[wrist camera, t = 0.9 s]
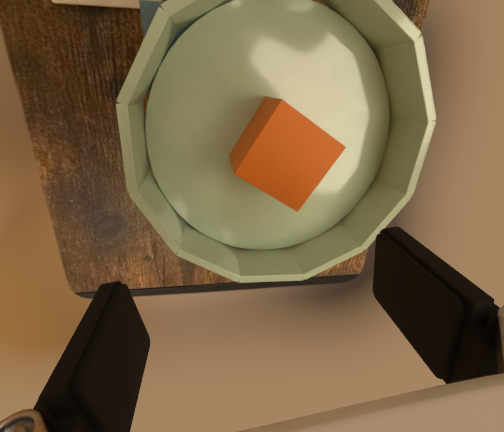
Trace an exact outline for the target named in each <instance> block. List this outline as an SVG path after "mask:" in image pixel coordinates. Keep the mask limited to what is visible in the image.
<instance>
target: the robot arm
mask: <svg viewBox="0 0 504 432" xmlns="http://www.w3.org/2000/svg"><path fill="white" fill-rule="evenodd" d="M373 293H374V296H375V298H376V299H377V301H378V302H379V303H380V305H381V306H382V307H383V309H384V310H385V311H386V312H387V314H388V315H389V316H390V318H391V319H392V320H393V322H394V323H395V324H396V326H397V327H398V328H399V329H400V331H401V332H402V333H403V335H404V336H405V337H406V339H407V340H408V341H409V342H410V344H411V345H412V346H413V348H414V349H415V350H416V351H417V353H418V354H419V355H420V357H421V358H422V359H423V361H424V362H425V363H426V365H427V366H428V367H429V368H430V370H431V371H432V372H433V374H434V375H435V376H436V377H437V378H439V379H443V380H444V382H445V383H446V384H445V385H440V386H436V387H431V388H427V389H422V390H418V391H413V392H409V393H405V394H400V395H396V396H392V397H387V398H382V399H378V400H374V401H369V402H365V403H360V404H356V405H352V406H348V407H343V408H339V409H334V410H330V411H325V412H321V413H317V414H313V415H308V416H304V417H300V418H296V419H291V420H287V421H283V422H278V423H274V424H270V425H265V426H261V427H257V428H252V429H248V430H244V431H240V432H504V306H502V307H501V308H499V307H498V306H497V305H495V304H494V299H493V298H492V297H491V296H489V295H488V294H486V293H485V292H484V291H483V290H481V289H480V288H479V287H477V286H476V285H475V284H473V283H472V282H471V281H469V280H468V279H467V278H466V277H464V276H463V275H462V274H460V273H459V272H458V271H456V270H455V269H454V268H452V267H451V266H450V265H448V264H447V263H446V262H445V261H443V260H442V259H441V258H439V257H438V256H437V255H435V254H434V253H433V252H431V251H430V250H429V249H427V248H426V247H424V245H422V244H421V243H420V242H418V241H417V240H415V239H414V238H413V237H412V236H410V235H409V234H408V233H406V232H405V231H404V230H402V229H401V228H400V227H391V228H386V229H382V230H381V231H380V234H377V236H376V246H375V262H374V277H373ZM149 347H150V338H149V335H148V332H147V330H146V328H145V325H144V323H143V321H142V319H141V316H140V314H139V312H138V309H137V307H136V305H135V303H134V300H133V298H132V296H131V293H130V291H129V289H128V287H127V285H126V284H122V283H121V282H120V281H116V282H111V283H106V284H102V285H101V286H100V287H99V289H98V291H97V292H96V294H95V296H94V298H93V300H92V302H91V303H90V305H89V307H88V309H87V311H86V313H85V314H84V316H83V318H82V320H81V322H80V323H79V325H78V327H77V329H76V331H75V333H74V335H73V336H72V338H71V340H70V342H69V343H68V345H67V347H66V349H65V351H64V353H63V354H62V356H61V358H60V360H59V362H58V363H57V365H56V367H55V369H54V371H53V373H52V374H51V376H50V378H49V380H48V382H47V384H46V385H45V387H44V389H43V391H42V393H41V394H40V396H39V399H38V401H37V403H36V405H35V406H34V408H33V409H26V410H22V411H19V412H16V413H14V414H12V415H10V416H9V417H7V418H5V419H4V420H2V421H1V422H0V432H130V429H131V424H132V420H133V416H134V411H135V407H136V403H137V399H138V395H139V390H140V386H141V381H142V377H143V373H144V369H145V365H146V360H147V356H148V352H149Z"/></svg>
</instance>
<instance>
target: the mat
mask: <svg viewBox="0 0 504 432" xmlns="http://www.w3.org/2000/svg"><path fill="white" fill-rule="evenodd" d="M150 1H162V0H150ZM52 2H53V3H54V4H66V5H82V6H98V7H113V8H129V9H140V5H139V0H52Z"/></svg>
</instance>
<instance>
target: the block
mask: <svg viewBox="0 0 504 432" xmlns="http://www.w3.org/2000/svg"><path fill="white" fill-rule="evenodd" d="M345 148H346V147H345V146H344V145H343V144H341V143H340V142H339V141H337V140H336V139H335V138H333V137H332V136H331V135H329V134H328V133H327V132H325V131H324V130H323V129H321V128H320V127H319V126H317V125H316V124H315V123H313V122H312V121H311V120H309V119H308V118H307V117H305V116H304V115H303V114H301V113H300V112H299V111H297V110H296V109H295V108H293V107H292V106H291V105H289V104H288V103H287V102H285V101H284V100H283V99H278V98H272V97H267V96H265V98H264V99H263V101H262V102H261V104H260V106H259V107H258V109H257V111H256V112H255V114H254V115H253V117H252V119H251V120H250V122H249V124H248V125H247V127H246V128H245V130H244V132H243V133H242V135H241V137H240V138H239V140H238V141H237V143H236V145H235V146H234V148H233V150H232V151H231V153H230V154H229V158H230V161H231V165H232V168H233V172H234V174H235V175H236V176H238V177H240V178H241V179H243V180H245V181H246V182H248V183H250V184H251V185H253V186H255V187H256V188H258V189H260V190H261V191H263V192H265V193H266V194H268V195H270V196H272V197H273V198H275V199H277V200H278V201H280V202H282V203H283V204H285V205H287V206H288V207H290V208H292V209H293V210H295V211H297V212H298V211H299V210H300V208H301V207H302V206H303V204H304V203H305V202H306V200H307V199H308V198H309V196H310V195H311V194H312V192H313V191H314V190H315V188H316V187H317V186H318V184H319V183H320V182H321V180H322V179H323V178H324V176H325V175H326V174H327V172H328V171H329V170H330V168H331V167H332V166H333V164H334V163H335V162H336V160H337V159H338V158H339V156H340V155H341V154H342V152H343V151H344V150H345Z"/></svg>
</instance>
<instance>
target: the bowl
mask: <svg viewBox="0 0 504 432" xmlns="http://www.w3.org/2000/svg"><path fill="white" fill-rule="evenodd" d="M322 1H324V2H325V3H326V4H327V5H328V6H329V7H330V8H331V9H330V8H328V7H327V6H325V5H323V4H321V3H318V2H316V1H313V0H232V1H231V0H167V1H165V2H164V3H162V4H161V7H162V8H160V7H158V9H157V11H156V13H155V15H154V18H153V20H152V22H151V24H150V27H149V29H148V31H147V33H146V35H145V38H144V40H143V42H142V44H141V46H140V49H139V51H138V53H137V55H136V57H135V60H134V62H133V64H132V66H131V69H130V71H129V73H128V75H127V77H126V80H125V82H124V84H123V86H122V88H121V91H120V93H119V95H118V97H117V99H116V101H117V102H118V103H116V111H117V119H118V126H119V134H120V142H121V149H122V157H123V164H124V172H125V180H126V187H127V192H129V194H128V195H129V196H130V197H131V199H132V200H133V201H134V203H135V204H136V205H137V207H138V208H139V209H140V210H141V212H142V213H143V214H144V216H145V217H146V218H147V219H148V221H149V222H150V223H151V225H152V226H153V227H154V229H155V230H156V231H157V232H158V234H159V235H160V236H161V238H162V239H163V240H164V241H165V243H166V244H167V245H168V247H169V248H170V249H171V250H172V252H173V253H174V254H176V256H178V257H181V258H183V259H185V260H188V261H190V262H192V263H194V264H197V265H199V266H201V267H203V268H206V269H208V270H210V271H212V272H215V273H217V274H219V275H221V276H224V277H226V278H228V279H231V280H233V281H235V282H238V281H239V283H245V282H271V281H298V280H303V278H304V279H305V280H306V279H308V278H310V277H312V276H314V275H316V274H318V273H320V272H322V271H324V270H326V269H328V268H330V267H332V266H334V265H336V264H338V263H340V262H343V261H345V260H347V259H349V258H351V257H353V256H355V255H357V254H359V253H361V252H363V251H364V250H366V249H367V248H368V247H369V245H370V244H371V243H372V242H373V241H374V240H375V239H376V236H377V234H380V231H381V230H382V229H384V228H385V227H386V226H387V225H388V224H389V223H390V221H391V220H392V219H393V218H394V217H395V215H397V214H398V212H399V211H400V210H401V209H402V208H403V207H404V206H405V204H406V203H407V202H408V201H409V200H410V199H411V196H410V195H413V193H414V190H415V187H416V184H417V180H418V178H419V174H420V171H421V168H422V165H423V162H424V159H425V156H426V152H427V149H428V146H429V143H430V139H431V137H432V134H433V130H434V127H435V124H436V121H434V120H436V113H435V107H434V101H433V95H432V89H431V83H430V77H429V70H428V64H427V59H426V53H425V47H424V40H423V36H422V35H420V34H421V32H420V30H419V29H418V28H417V27H416V26H415V25H414V24H413V23H412V22H411V21H410V20H409V18H408V17H407V16H406V15H405V14H404V13H403V12H402V11H401V10H400V9H399V8H398V7H397V5H396V4H395V3H394V2H393V1H392V0H322ZM193 22H194V23H193ZM192 23H193V24H192ZM190 24H192V25H191V26H190V27H189V28H188V29H187V30H186V31H185V32H184V33H183V34H181V36H180V37H179V38H178V39H177V41H176V42H175V43H174V44H173V46H172V47H171V48H170V46H171V44H172V42H173V40H174V38H175V36H176V34H177V32H178V31H180V30H181V29H183V28H185V27H187V26H188V25H190ZM370 47H371V48H372V49H373V50H374V52H375V54H374V52H373V51H372V49H371V48H370ZM169 48H170V50H169ZM168 50H169V51H168ZM150 88H151V90H150ZM149 90H150V94H149V98H148V102H147V109H146V119H145V113H144V100H145V98H146V96H147V94H148V92H149ZM265 96H267V97H272V98H278V99H283V100H284V101H285V102H287V103H288V104H289V105H291V106H292V107H293V108H295V109H296V110H297V111H299V112H300V113H301V114H303V115H304V116H305V117H307V118H308V119H309V120H311V121H312V122H313V123H315V124H316V125H317V126H319V127H320V128H321V129H323V130H324V131H325V132H327V133H328V134H329V135H331V136H332V137H333V138H335V139H336V140H337V141H339V142H340V143H341V144H343V145H344V146H345V147H346V148H345V150H344V151H343V152H342V154H341V155H340V156H339V158H338V159H337V160H336V162H335V163H334V164H333V166H332V167H331V168H330V170H329V171H328V172H327V174H326V175H325V176H324V178H323V179H322V180H321V182H320V183H319V184H318V186H317V187H316V188H315V190H314V191H313V192H312V194H311V195H310V196H309V198H308V199H307V200H306V202H305V203H304V204H303V206H302V207H301V208H300V210H299V211H298V212H297V211H295V210H293V209H292V208H290V207H288V206H287V205H285V204H283V203H282V202H280V201H278V200H277V199H275V198H273V197H272V196H270V195H268V194H266V193H265V192H263V191H261V190H260V189H258V188H256V187H255V186H253V185H251V184H250V183H248V182H246V181H245V180H243V179H241V178H240V177H238V176H236V175H235V174H234V172H233V168H232V165H231V161H230V158H229V154H230V153H231V151H232V150H233V148H234V146H235V145H236V143H237V141H238V140H239V138H240V137H241V135H242V133H243V132H244V130H245V128H246V127H247V125H248V124H249V122H250V120H251V119H252V117H253V115H254V114H255V112H256V111H257V109H258V107H259V106H260V104H261V102H262V101H263V99H264V98H265ZM149 161H150V164H151V168H152V171H153V174H154V176H155V178H156V180H155V179H154V177H153V176H152V174H151V173H150V167H149ZM156 181H157V182H156ZM182 218H183V219H184V220H185V221H186V222H187V223H189V224H190V225H189V224H187V223H185V221H184V220H183V219H182ZM363 249H364V250H363Z"/></svg>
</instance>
